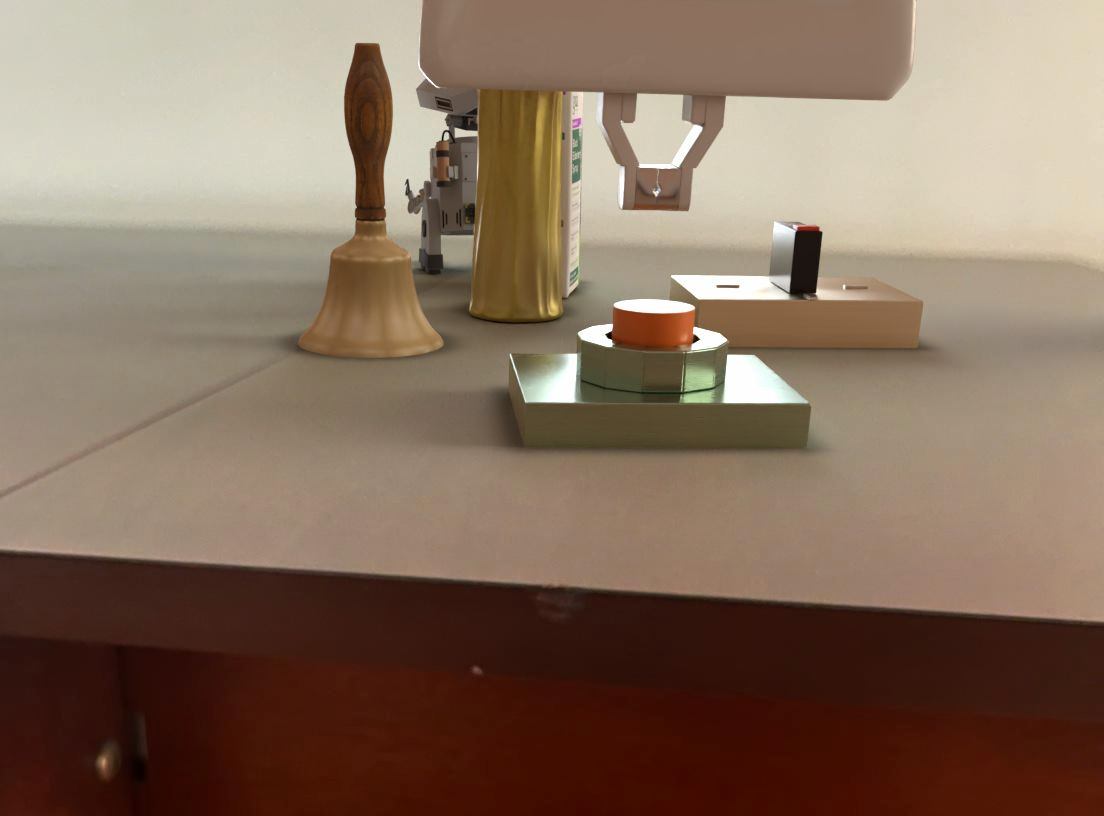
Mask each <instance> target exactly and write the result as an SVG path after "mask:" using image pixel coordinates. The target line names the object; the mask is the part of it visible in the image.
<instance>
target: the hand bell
mask: <svg viewBox="0 0 1104 816" xmlns="http://www.w3.org/2000/svg"><path fill="white" fill-rule="evenodd" d="M393 101H394V100H393V93H392V86H391V82H390V79H389V74H388V72H387V70H386V66H385V63H384V59H383V55H382V51H381V45H380V44H379V43H376V42H356V43H355V44H354V50H353V55H352V60H351V64H350V67H349V70H348V74H347V77H346V81H345V85H344V95H343V115H344V116H343V117H344V126H345V132H346V133H345V134H346V137H347V143H348V146H349V149H350V152H351V155H352V158H353V164H354V171H355V193H354V195H355V197H354V205H355V208H354V218H355V220H354V221H355V222H354V223H355V226H354V234H353V236H352V237H351V238H350V239H349V240H348V241H346V242H344V243H343V244H341V245H338V246H337V247H335V248H334V249H332V251H331V252H330V255H329V256H330V258H329V259H330V260H329V271H328V277H327V283H326V284H327V285H326V289H325V294H324V297H323V300H322V304H321V306H320V309H319V311H318V313H317V315H316V317H315V318H314V320H313V321H312V323H311V324H310V325H309V327H308V328H307V329H305V330H304V331H303V333H302V334H301V335H300V337H299V339H298V342H297V345H298V347H299V348H301V349H303V350H305V351H307V352H311V353H315V354H318V355H319V354H320V355H325V356H332V357H333V356H334V357H341V358H361V359H363V358H364V359H378V358H381V359H382V358H400V357H409V356H416V355H423V354H428V353H432V352H435V351H437V350H439V349H441V348H442V347H443V346H444V345H445V343H444V340H443V338H442V337H441V335H440V334H439V332H437V331H436V330H435V329H434V328H433V326H431V323H429V320H427V319H428V318H427V317H426V315H425V313H424V312H423V310H422V307H421V304H420V302H419V298H418V295H417V289H416V286H415V280H414V273H413V264H412V255H411V253H410V252H409V251H408V250H407V249H406V248H404V247H402V246H400V245H399V244H398V243H396V242H394V241H393V240H392V239H391V238H390V237H389V235H388V233H387V221H386V218H387V209H386V208H385V206H386V194H385V192H386V191H385V176H384V175H385V164H386V159H387V156H388V151H389V147H390V143H391V139H392V134H393V133H392V132H393V121H394V102H393Z"/></svg>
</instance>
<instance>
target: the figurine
mask: <svg viewBox="0 0 1104 816" xmlns="http://www.w3.org/2000/svg"><path fill="white" fill-rule="evenodd" d="M415 92H416V96H417V101H418V104H419V107H420V108H423V109H424V108H425V109H428V110H432V111H436V112H440V113H444V114H446V116H445V118H444V122H445V125H446V127H448V129H444V130H443V131H442V134H441V138H440V139H441V140H438V141H435V145H434V147H432V148H430V150H429V179H430V180H424V181H423V188H420V189H419V190H418V193H419V194H416V196H415V194H414V192H413V190H411V188H410V187H411V186H410V179H409V178H406V179H405V183H404V186H406V187H405V192H404V196H406V197H407V199H408V202H407V212H408V214H410V215H411V214H414V215H419V213H420V212H421V221H420V225H421V226H420V248H419V249H418V250H419V251H418V263H419V264H420V268H421V269H422V270H423V271H424V270H425V272H426V273H427V274H441V273H442V270H444V255H443V253H442V236H455V237H457V236H458V237H459V236H462V237H463V236H474V224H475V204H476V189H477V137H478V135H471V136H470V135H469V136H458V137H456V130H455V129H459V130H463V131H467V132H478V89H461V88H438V87H436V86H434V85H433V84H432V83H431V82H430V81H429V80H428V79H427V78H426V77H425V78H424V79H423V81H422V82H421V83H420V84H419V85H418V86H417V87H416V88H415ZM446 133H448V139H446V140H445V134H446Z"/></svg>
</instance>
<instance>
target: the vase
mask: <svg viewBox="0 0 1104 816" xmlns="http://www.w3.org/2000/svg"><path fill="white" fill-rule="evenodd" d="M562 104H563V91H531V90H495V89H478V131H477V136H478V137H477V189H476V204H475V224H474V235H473V241H472V262H471V281H470V282H471V284H470V300H469V307H468V312H469V313H470V315H471V316H473V317H475V318H478V319H481V320H486V321H490V322H491V321H492V322H500V323H519V324H520V323H539V322H540V323H541V322H547V321H553V320H556V319H557V320H558V318H560V317H561V316H562V315H563V313H564V307H563V297H562V292H561V289H562V238H561V169H562Z"/></svg>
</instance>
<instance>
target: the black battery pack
mask: <svg viewBox="0 0 1104 816" xmlns="http://www.w3.org/2000/svg"><path fill="white" fill-rule="evenodd" d="M820 229H821V227H820V226H819V225H816V224H807V223H806V224H805V223H803V222H801V221H773V230H772V238H771V251H770V262H769V272H768V276H769V280H770V281H771V282H773V283H774V284H776V285H778V286H779V287H781V288H783V289H784V290H786V291H787V292H789V293H816V291H817V281H818V277H819V271H820V261H821V252H822V251H821V250H822V242H823V234H824V233H823V231H822V230H820Z"/></svg>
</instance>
